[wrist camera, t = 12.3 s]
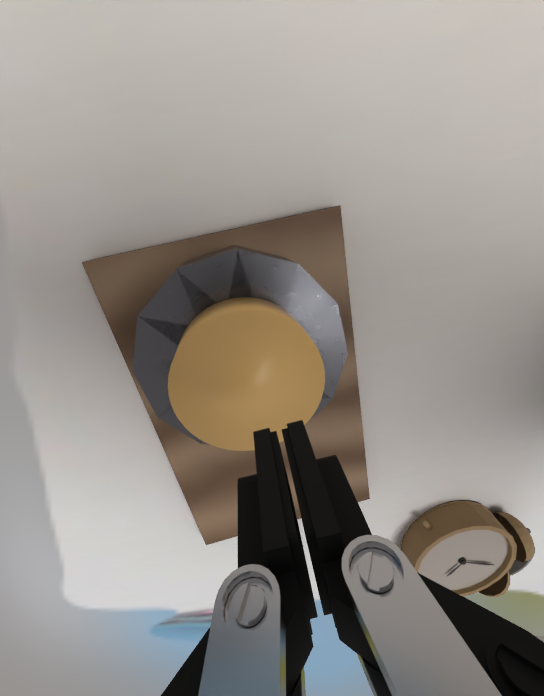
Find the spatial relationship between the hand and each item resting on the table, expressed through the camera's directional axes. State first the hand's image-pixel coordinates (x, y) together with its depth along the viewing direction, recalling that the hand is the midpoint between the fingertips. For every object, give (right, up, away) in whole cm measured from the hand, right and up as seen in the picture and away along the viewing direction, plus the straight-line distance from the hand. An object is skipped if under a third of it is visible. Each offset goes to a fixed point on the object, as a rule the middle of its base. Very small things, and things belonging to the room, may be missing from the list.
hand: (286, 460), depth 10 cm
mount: (-2, 0, +14) cm, 14 cm away
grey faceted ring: (-3, +4, +11) cm, 12 cm away
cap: (-3, +4, +11) cm, 12 cm away
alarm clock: (+21, -18, +26) cm, 38 cm away
